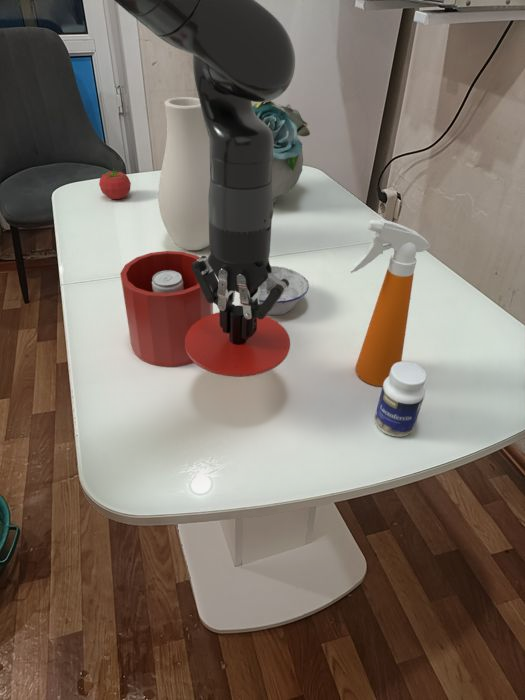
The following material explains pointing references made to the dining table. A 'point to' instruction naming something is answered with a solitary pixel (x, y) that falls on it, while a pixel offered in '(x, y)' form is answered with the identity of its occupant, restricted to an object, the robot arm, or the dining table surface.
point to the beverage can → (167, 282)
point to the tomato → (115, 184)
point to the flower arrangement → (283, 143)
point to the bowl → (290, 295)
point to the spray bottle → (389, 299)
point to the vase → (185, 174)
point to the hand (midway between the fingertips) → (238, 332)
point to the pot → (162, 307)
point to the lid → (236, 345)
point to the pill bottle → (401, 399)
